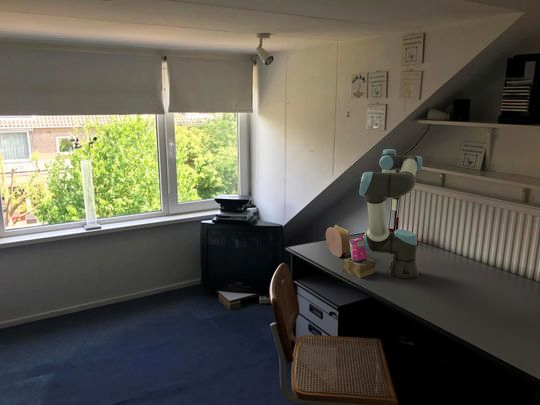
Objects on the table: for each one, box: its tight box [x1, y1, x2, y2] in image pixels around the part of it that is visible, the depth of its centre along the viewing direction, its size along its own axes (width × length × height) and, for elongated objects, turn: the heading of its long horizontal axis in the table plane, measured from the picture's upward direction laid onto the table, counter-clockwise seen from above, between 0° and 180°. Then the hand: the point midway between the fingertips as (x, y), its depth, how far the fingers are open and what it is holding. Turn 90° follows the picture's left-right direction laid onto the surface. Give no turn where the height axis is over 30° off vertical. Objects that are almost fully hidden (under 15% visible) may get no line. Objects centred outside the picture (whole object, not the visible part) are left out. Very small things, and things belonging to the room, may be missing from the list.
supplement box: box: [349, 238, 367, 261], centre depth 238 cm, size 6×6×12 cm
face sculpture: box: [325, 224, 351, 259], centre depth 266 cm, size 20×7×17 cm, turn 25°
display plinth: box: [343, 256, 377, 279], centre depth 239 cm, size 12×12×7 cm
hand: (386, 212), depth 259 cm, fingers open, 13 cm apart
